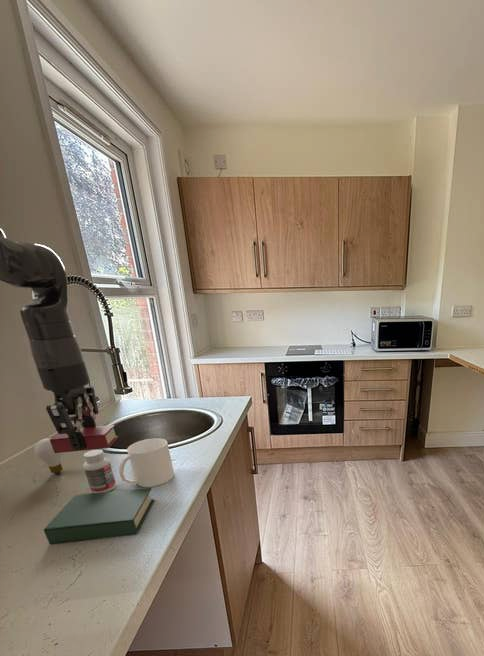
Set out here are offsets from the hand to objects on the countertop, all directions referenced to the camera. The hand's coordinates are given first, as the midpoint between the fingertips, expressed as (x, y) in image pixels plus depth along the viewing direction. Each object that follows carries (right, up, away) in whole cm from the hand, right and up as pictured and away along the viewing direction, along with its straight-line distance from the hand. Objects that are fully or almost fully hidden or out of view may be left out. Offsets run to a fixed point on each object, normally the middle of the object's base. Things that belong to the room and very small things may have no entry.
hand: (86, 442), depth 72 cm
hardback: (+3, -16, +1) cm, 17 cm away
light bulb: (-22, -9, +21) cm, 32 cm away
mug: (+5, -10, +17) cm, 20 cm away
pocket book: (0, 0, 0) cm, 0 cm away
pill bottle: (-5, -12, +13) cm, 19 cm away
